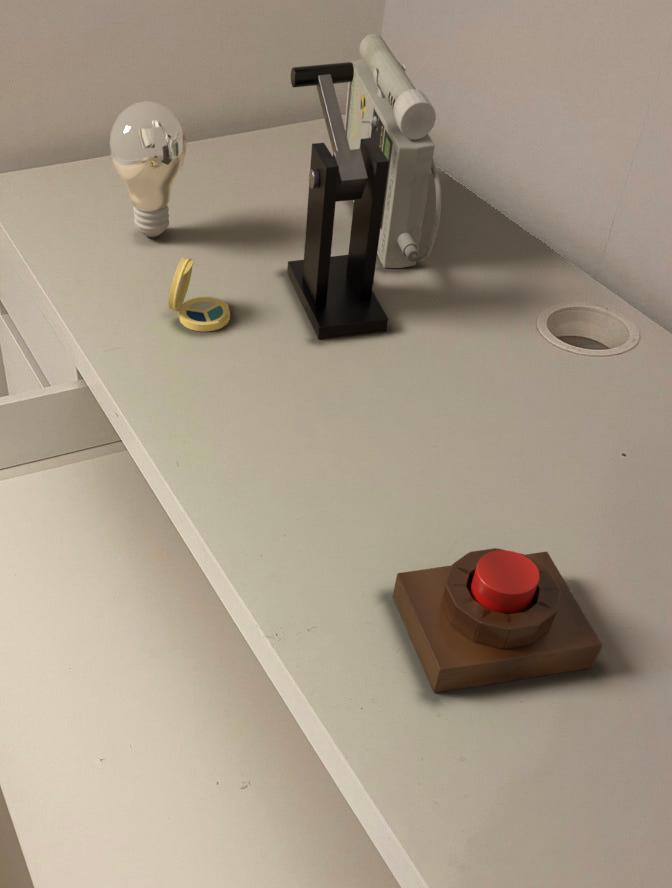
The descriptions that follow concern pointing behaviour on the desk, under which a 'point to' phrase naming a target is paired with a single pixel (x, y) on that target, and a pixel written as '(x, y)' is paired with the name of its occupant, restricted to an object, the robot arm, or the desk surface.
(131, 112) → the light bulb
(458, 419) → the desk surface
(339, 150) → the lever
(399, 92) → the geiger counter
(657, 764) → the desk surface
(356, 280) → the bracket
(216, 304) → the eyeshadow
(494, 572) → the button
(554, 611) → the button block
